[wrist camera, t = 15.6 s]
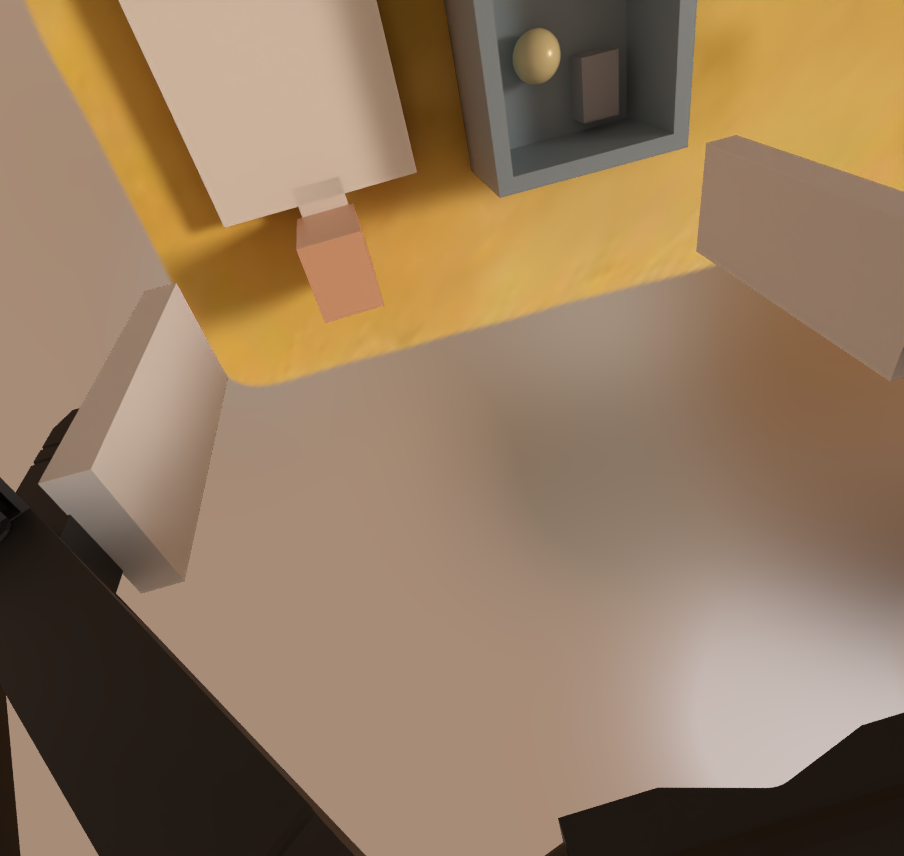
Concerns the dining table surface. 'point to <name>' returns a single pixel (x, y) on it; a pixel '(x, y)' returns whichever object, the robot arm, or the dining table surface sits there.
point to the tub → (570, 85)
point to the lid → (285, 119)
